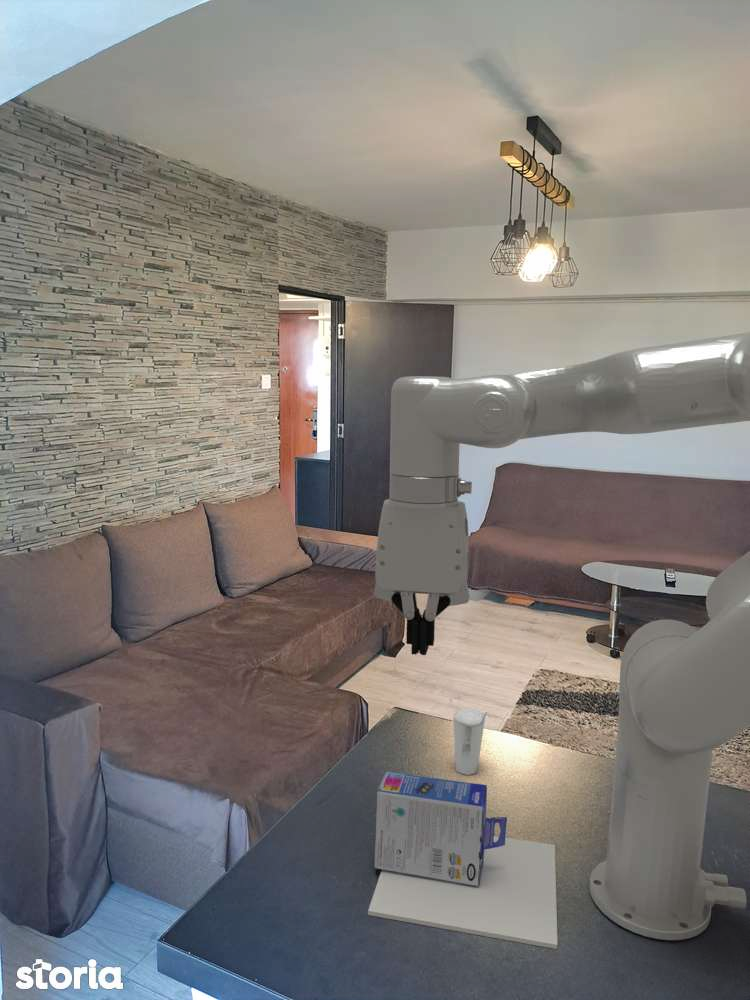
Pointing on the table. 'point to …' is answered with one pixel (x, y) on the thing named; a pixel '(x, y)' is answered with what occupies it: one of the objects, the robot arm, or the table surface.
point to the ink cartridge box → (434, 828)
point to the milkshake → (468, 739)
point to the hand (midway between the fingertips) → (420, 650)
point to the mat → (482, 896)
